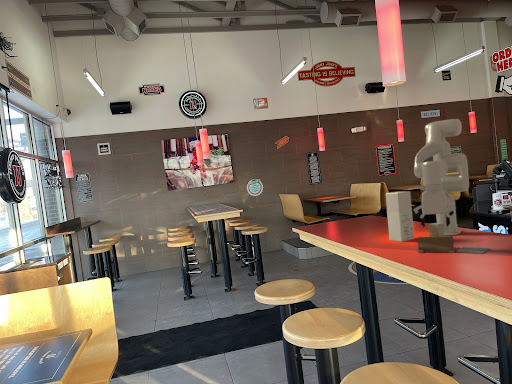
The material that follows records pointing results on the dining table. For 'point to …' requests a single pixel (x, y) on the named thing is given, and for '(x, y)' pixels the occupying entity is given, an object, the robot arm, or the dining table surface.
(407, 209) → the tall white carton
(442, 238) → the screen
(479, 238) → the dining table surface
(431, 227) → the box
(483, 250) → the mat
